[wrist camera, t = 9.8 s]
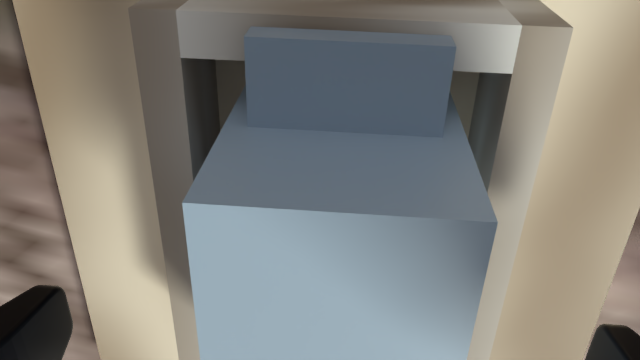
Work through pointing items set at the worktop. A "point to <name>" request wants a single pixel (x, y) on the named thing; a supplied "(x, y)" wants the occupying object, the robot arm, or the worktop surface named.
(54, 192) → the worktop surface
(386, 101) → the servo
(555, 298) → the chassis pocket
